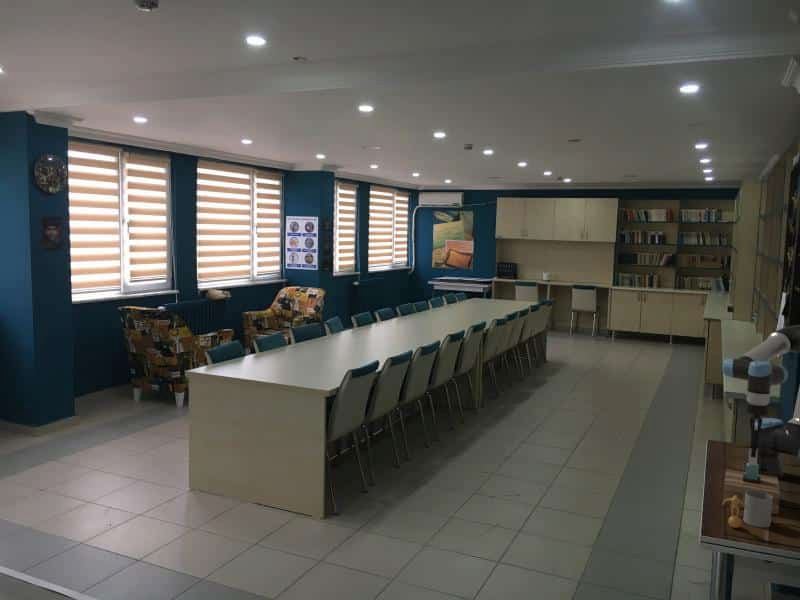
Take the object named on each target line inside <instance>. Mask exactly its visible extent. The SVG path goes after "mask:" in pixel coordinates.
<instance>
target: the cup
mask: <svg viewBox="0 0 800 600" xmlns="http://www.w3.org/2000/svg"><path fill="white" fill-rule="evenodd" d="M772 499H773V496H772V495H770V494H768V493H766V492H762V491H757V490H748V491H746V493H745V505H746V507H747V508H748V510H747V509H746V508H745V506H744V508H743V519H742V520H743V521H744V522H745V523H746V524H747V525H749V526H752V527H757V528H769V527H771V521H772V513H771V511H772ZM748 511H749V512H748Z"/></svg>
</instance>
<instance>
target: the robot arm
mask: <svg viewBox="0 0 800 600" xmlns="http://www.w3.org/2000/svg"><path fill="white" fill-rule="evenodd" d="M787 353H797V354H800V324H797V325H795V324H794V325H789V326H785V327H782V328H779V329H778V330H775V331H774V332H771V333H770V334H769V335H768V336H767V339H765V340H764V341H763V342H761V343H759V344H757V346H755V347H753V348H752V349H750V350H749V351H747V352H746V353H744V354H742V355H741V356H739V357H738V358H734V357H732V358H731V357H727V358H726V359H725V360H724V361H723V364H722V373H723V374H724V376H725V377H728V378H729V377H730V378H732V379H739V380H743V381H747V389H746V390H747V391H746V393H744V395H745V396H746V403H745V413H747V414H749V415H752V416H749V417H750V418H749V423H750V426H749V428H750V429H749V444H748V446H747V447H748V453H747V455H746V457H745V460H744V462H743V464H742V471H743V472H746V465H747V463H748V465H754V466H757V465H759V471H758V474H759V475H765V476H771V477H777V478H778V479H780V478H782V477H783V476H784V468H783V466H782V461H781V454H784V455H786V456H790V457H794V458H798V459H800V385H799V387H798V392H797V396H796V401H795V406H794V411H793V416H792V418H791V419H790V420H788V421H787V425H784V422H783V420H781V419H779V418H773V417H772V418H771V417H766V416H767V415H769V410H770V409H769V407H770V400H771V386H777V385H781V384H784V383H785V382H786V381H787V380H788V377H789V372H788V369H787V368H786V367H785V366H784V365H781V364H776V363H774V364H771V363H770V361H773V360H774V359H775V358H777V357H778V356H779V355H784V354H787ZM761 416H762V417H761ZM764 416H765V417H764Z"/></svg>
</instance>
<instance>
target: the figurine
mask: <svg viewBox="0 0 800 600" xmlns="http://www.w3.org/2000/svg"><path fill="white" fill-rule="evenodd" d="M726 501H731V502H732V504H733V505H731V506H730V511H731V512H730V513H731V516H730V517H729V518H728V524H729V526H730V527H732V528H734V529H737V528H740V527H741V526H742V520H741V518H740V517H739V515H740V514H739V513H740V507H739V506H738V507H737V505H738V503H740V504H742V505H744V506H745V508H746V509H747V510H748V508H747V507H746V505H745V504H744V503H742V502H741V501H740V500H738V498H737V495H735V496H734V497H733V498H730V499H725V500H724V502H723V501H722V503H721V506H723V505H724V503H725V502H726ZM734 510H735V511H736V513H735V515H734ZM748 512H749V511H748Z"/></svg>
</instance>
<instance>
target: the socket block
mask: <svg viewBox="0 0 800 600" xmlns="http://www.w3.org/2000/svg"><path fill="white" fill-rule="evenodd" d="M779 483H780V482H779V478H777V477H771V476H765V475H759V474H758V480H753V479H747V478H746V472H745V471H738V470H734V469H729V468H725V472H724V482H723V497H722V503H723V502H724V500H725V499H730V498H733V497H734V496H735V495H737V498H738V500H740V501H741V502H742V503H744V504H745V493H746V491H748V490H757V491H762V492H766V493H768V494H770V495H772V496H773V499H772V511H771V515H772V514H773V515H779V507H780V494H781V492H780V485H779ZM723 505H724V506H730V507H731V505H733V504H732V502H731V501H726V502H725V503H724V504H723ZM738 506H739V509H741V508H742V509H744V505H742V504H740V503H738V505H737V507H738Z"/></svg>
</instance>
